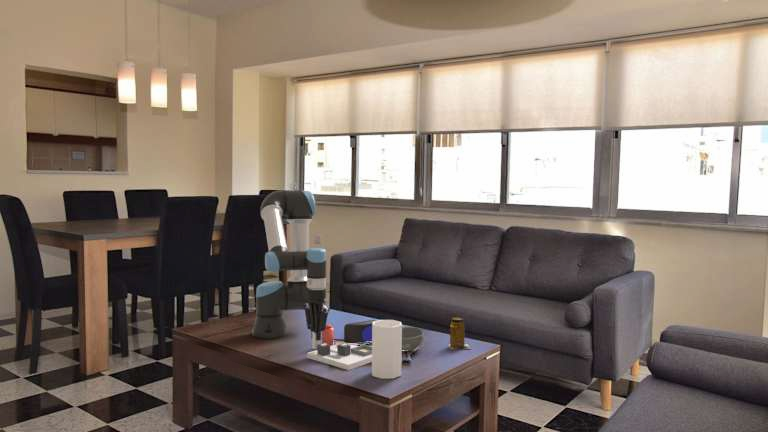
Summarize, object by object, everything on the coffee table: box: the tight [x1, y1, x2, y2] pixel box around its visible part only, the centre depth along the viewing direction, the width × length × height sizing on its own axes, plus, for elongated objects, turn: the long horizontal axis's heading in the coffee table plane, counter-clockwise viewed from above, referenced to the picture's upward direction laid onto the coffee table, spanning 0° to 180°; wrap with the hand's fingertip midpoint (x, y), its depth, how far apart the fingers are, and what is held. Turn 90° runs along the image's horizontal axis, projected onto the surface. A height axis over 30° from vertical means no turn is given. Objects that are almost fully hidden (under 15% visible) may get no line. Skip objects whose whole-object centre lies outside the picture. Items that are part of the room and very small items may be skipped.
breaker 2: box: [338, 344, 350, 356], centre depth 219 cm, size 4×3×4 cm
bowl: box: [402, 326, 425, 352], centre depth 233 cm, size 18×18×8 cm
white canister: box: [371, 319, 403, 380], centre depth 203 cm, size 11×11×18 cm
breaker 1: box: [316, 342, 330, 356], centre depth 219 cm, size 4×3×4 cm
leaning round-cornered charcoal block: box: [343, 319, 377, 343], centre depth 241 cm, size 16×5×9 cm, turn 124°
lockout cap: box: [321, 323, 335, 346], centre depth 236 cm, size 5×5×9 cm
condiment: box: [448, 317, 471, 350], centre depth 238 cm, size 7×8×12 cm
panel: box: [306, 341, 372, 371], centre depth 222 cm, size 22×20×4 cm
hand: (316, 348), depth 222 cm, fingers closed
